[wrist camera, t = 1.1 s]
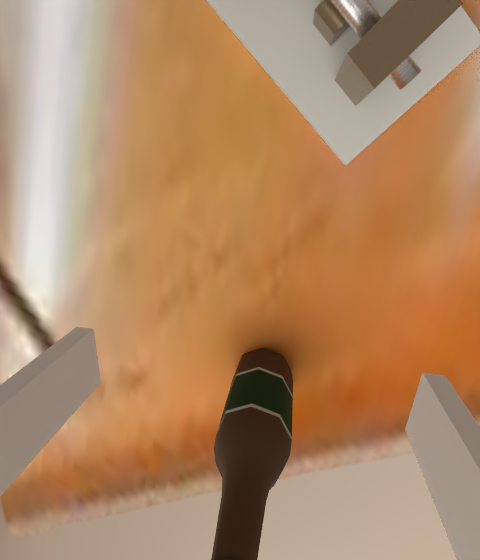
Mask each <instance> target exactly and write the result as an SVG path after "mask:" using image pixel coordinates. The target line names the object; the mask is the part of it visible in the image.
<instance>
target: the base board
mask: <svg viewBox="0 0 480 560" xmlns="http://www.w3.org/2000/svg"><path fill="white" fill-rule="evenodd" d="M206 1H207V2H208V4H209V5H210V6H211V7H212V8H213V9H214V11H215V12H216V13H217V14H218V15H219V17H220V18H221V19H222V20H223V21H224V23H225V24H226V25H227V26H228V27H229V28H230V30H231V31H232V32H233V33H234V34H235V36H236V37H237V38H238V39H239V40H240V42H241V43H242V44H243V45H244V46H245V48H246V49H247V50H248V51H249V52H250V53H251V55H252V56H253V57H254V58H255V59H256V61H257V62H258V63H259V64H260V65H261V67H262V68H263V69H264V70H265V71H266V73H267V74H268V75H269V76H270V77H271V78H272V80H273V81H274V82H275V83H276V84H277V86H278V87H279V88H280V89H281V90H282V92H283V93H284V94H285V95H286V96H287V98H288V99H289V100H290V101H291V102H292V103H293V105H294V106H295V107H296V108H297V109H298V111H299V112H300V113H301V114H302V115H303V117H304V118H305V119H306V120H307V121H308V123H309V124H310V125H311V126H312V127H313V128H314V130H315V131H316V132H317V133H318V134H319V136H320V137H321V138H322V139H323V140H324V142H325V143H326V144H327V145H328V146H329V148H330V149H331V150H332V151H333V152H334V153H335V155H336V156H337V157H338V158H339V159H340V161H341V162H342V163H343V164H344V165H347V164H348V163H349V162H350V161H351V160H352V159H354V158H355V157H356V156H357V155H358V154H359V153H360V152H361V151H362V150H364V149H365V148H366V147H367V146H368V145H369V144H370V143H371V142H372V141H374V140H375V139H376V138H377V137H378V136H379V135H380V134H381V133H383V132H384V131H385V130H386V129H387V128H388V127H389V126H390V125H391V124H393V123H394V122H395V121H396V120H397V119H398V118H399V117H400V116H401V115H403V114H404V113H405V112H406V111H407V110H408V109H409V108H410V107H412V106H413V105H414V104H415V103H416V102H417V101H418V100H419V99H420V98H422V97H423V96H424V95H425V94H426V93H427V92H428V91H429V90H430V89H432V88H433V87H434V86H435V85H436V84H437V83H438V82H439V81H441V80H442V79H443V78H444V77H445V76H446V75H447V74H448V73H449V72H451V71H452V70H453V69H454V68H455V67H456V66H457V65H458V64H459V63H461V62H462V61H463V60H464V59H465V58H466V57H467V56H468V55H470V54H471V53H472V52H473V51H474V50H475V49H476V48H477V47H478V46H480V32H479V30H478V29H477V27H476V26H475V25H474V23H473V22H472V20H471V19H470V17H469V16H468V15H467V13H466V12H465V10H464V9H463V8H462V6H460V7H459V8H458V9H457V10H456V11H455V12H454V13H453V14H452V15H451V16H450V17H449V18H448V19H447V20H446V21H444V22H443V23H442V24H441V25H440V26H439V27H438V28H437V29H436V30H435V31H434V32H433V33H432V34H431V35H430V36H429V37H428V38H427V39H426V40H425V41H424V42H423V43H422V44H421V45H420V46H419V47H417V48H416V49H415V50H414V51H413V52H412V53H411V54H410V55H411V57H412V58H413V59H414V61H415V62H416V63H417V65H418V66H419V67H420V69H421V70H422V71H421V72H420V73H419V74H418V75H417V76H416V77H415V78H414V79H413V80H411V81H410V82H409V83H408V84H407V85H406V86H405V87H404V88H402V89H401V90H399V89H398V87H397V86H396V85H395V83H394V82H393V81H392V80H391V78H390V77H389V76H387V77H386V78H385V79H384V80H383V81H382V82H381V83H380V84H379V85H378V86H377V87H376V88H375V89H374V90H373V91H372V92H371V93H369V94H368V95H367V96H366V97H365V98H364V99H363V100H362V101H361V102H360V103H358V104H357V105H356V106H355V105H354V104H353V102H352V101H351V100H350V99H349V97H348V96H347V95H346V94H345V92H344V91H343V90H342V89H341V87H340V86H339V85H338V84H337V83H336V81H335V78H336V76H337V74H338V72H339V70H340V68H341V66H342V64H343V61H344V59H345V57H346V55H347V53H348V52H349V51H350V50H351V49H352V48H353V47H354V46H355V45H356V44H357V43H358V42H359V41H360V40H361V39H360V38H359V37H358V36H357V34H356V33H355V32H354V30H353V29H352V28H351V26H349V27H348V28H347V29H346V30H345V31H344V32H343V34H342V35H341V36H340V37H339V38H338V39H337V40H336V41H335V42H334V43H333V44H332V45H331V46H330V45H329V43H328V42H327V41H326V40H325V38H324V37H323V36H322V35H321V33H320V32H319V31H318V30H317V28H316V27H315V26H314V24H313V20H314V11H315V9H316V7H317V6H318V5H319V4H320V3H321V2H322V0H206ZM369 1H370V2H371V3H372V5H373V6H374V7H375V9H376V10H377V11H378V13H379V14H380V15H381V17H383V16H384V14H385V13H386V12H387V11H388V10H389V9H390V8H391V7H392V6H393V5H394V4H395V3H396V2H397V1H398V0H369Z"/></svg>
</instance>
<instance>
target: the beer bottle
mask: <svg viewBox="0 0 480 560" xmlns="http://www.w3.org/2000/svg"><path fill="white" fill-rule="evenodd" d="M292 400H293V378H292V373H291V371H290V369H289V367H288V365H287V363H286V361H285V359H284V357H283V356H281V355H279V354H276V353H274V352H271V351H268V350H266V349H263V348H262V349H259V350H256V351H253V352H250V353H247V354H244V355H242V358H241V360H240V363H239V365H238V368H237V370H236V373H235V375H234V378H233V380H232V384H231V387H230V391H229V394H228V397H227V401H226V404H225V408H224V411H223V414H222V418H221V421H220V425H219V428H218V431H217V435H216V441H215V446H214V453H215V461H216V464H217V467H218V469H219V471H220V474H221V476H222V478H223V480H222V498H221V504H220V510H219V516H218V522H217V529H216V535H215V541H214V547H213V554H212V559H211V560H257V557H258V550H259V543H260V537H261V530H262V524H263V518H264V511H265V505H266V500H267V496H268V492H269V490H270V489H271V488H272V487H273V486H274V484H275V483H276V481H277V479H278V478H279V476H280V474H281V472H282V471H283V469H284V467H285V465H286V462H287V460H288V458H289V456H290V450H291V441H292Z"/></svg>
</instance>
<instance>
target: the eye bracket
mask: <svg viewBox="0 0 480 560" xmlns="http://www.w3.org/2000/svg"><path fill="white" fill-rule="evenodd" d="M462 4H463V3H462V2H461V0H398V1H397V2H396V3H395V4H394V5H393V6H392V7H391V8H390V9H389V10H388V11H387V12H386V13H385V14H384V16H383V17H382V18H381V19H380V20H379V21H378V22H377V23H376V24H375V25H374V26H373V27H372V28H371V29H370V30H369V31H368V32H367V33H366V34H365V35H364V36H363V38H362V39H361V40H360V41H359V42H358V43H357V44H356V45H355V46H354V47H353V48H352V49H351V50H350V51H349V52H348V53H347V55H346V57H345V59H344V61H343V64H342V66H341V68H340V70H339V72H338V74H337V76H336V78H335V81H336V83H337V84H338V85H339V86H340V87H341V89H342V90H343V91H344V92H345V94H346V95H347V96H348V97H349V99H350V100H351V101H352V102H353V104H354V105H355V106H356V105H357V104H358V103H360V102H361V101H362V100H363V99H364V98H365V97H366V96H367V95H368V94H369V93H371V92H372V91H373V90H374V89H375V88H376V87H377V86H378V85H379V84H380V83H381V82H382V81H383V80H384V79H385V78H386V77H387V76H388V75H389V74H391V73H392V72H393V71H394V70H395V69H396V68H397V67H398V66H399V65H400V64H401V63H402V62H403V61H404V60H405V59H406V58H407V57H408V56H409V55H410V54H411V53H412V52H413V51H414V50H415V49H416V48H417V47H419V46H420V45H421V44H422V43H423V42H424V41H425V40H426V39H427V38H428V37H429V36H430V35H431V34H432V33H433V32H434V31H435V30H436V29H437V28H438V27H439V26H440V25H441V24H442V23H443V22H444V21H446V20H447V19H448V18H449V17H450V16H451V15H452V14H453V13H454V12H455V11H456V10H457V9H458V8H459V7H460V6H461V5H462ZM313 24H314V26H315V27H316V28H317V30H318V31H319V32H320V33H321V35H322V36H323V37H324V38H325V40H326V41H327V42H328V43H329V45H330V46H331V45H332V44H333V43H334V42H335V41H336V40H337V39H338V38H339V37H340V36H341V35H342V34H343V32H344V31H345V30H346V29H347V28H348V27H349V26H350V25H349V24H348V23H347V21H346V20H345V19H344V17H343V16H342V15H341V14H340V12H339V11H338V10H337V8H336V7H335V6H334V4H333V3H332V2H331V1H330V0H322V2H321V3H320V4H319V5H318V6H317V7H316V9H315V11H314V20H313Z"/></svg>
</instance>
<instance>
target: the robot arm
mask: <svg viewBox="0 0 480 560" xmlns="http://www.w3.org/2000/svg"><path fill="white" fill-rule="evenodd" d="M100 382H101V380H100V372H99V365H98V358H97V351H96V344H95V337H94V329H90V328H82V327H76V328H75V329H73V330H72V331H71V332H70V333H68V334H67V335H66V336H64V337H63V338H62V339H60V340H59V341H58V342H56V343H55V344H54V345H52V346H51V347H50V348H49V349H47V350H46V351H45V352H43V353H42V354H41V355H39V356H38V357H37V358H35V359H34V360H33V361H32V362H30V363H29V364H28V365H26V366H25V367H24V368H22V369H21V370H20V371H18V372H17V373H16V374H15V375H13V376H12V377H11V378H9V379H8V380H7V381H5V382H4V383H3V384H1V385H0V496H1V495H2V494H3V493H4V492H5V490H6V489H7V488H8V487H9V486H10V485H11V484H12V482H13V481H14V480H15V479H16V478H17V477H18V476H19V475H20V473H21V472H22V471H23V470H24V469H25V468H26V467H27V465H28V464H29V463H30V462H31V461H32V460H33V459H34V457H35V456H36V455H37V454H38V453H39V452H40V451H41V449H42V448H43V447H44V446H45V445H46V444H47V443H48V442H49V440H50V439H51V438H52V437H53V436H54V435H55V434H56V432H57V431H58V430H59V429H60V428H61V427H62V426H63V424H64V423H65V422H66V421H67V420H68V419H69V418H70V416H71V415H72V414H73V413H74V412H75V411H76V410H77V409H78V407H79V406H80V405H81V404H82V403H83V402H84V401H85V399H86V398H87V397H88V396H89V395H90V394H91V393H92V391H93V390H94V389H95V388H96V387H97V386H98V385H99V383H100ZM405 430H406V433H407V435H408V438H409V440H410V443H411V445H412V448H413V450H414V453H415V455H416V458H417V460H418V463H419V465H420V468H421V471H422V473H423V476H424V478H425V480H426V483H427V485H428V488H429V491H430V493H431V496H432V498H433V501H434V503H435V506H436V508H437V511H438V513H439V516H440V518H441V521H442V523H443V526H444V528H445V531H446V533H447V536H448V538H449V540H450V543H451V546H452V548H453V551H454V553H455V556H456V558H457V560H480V426H479V425H478V423H477V422H476V420H475V419H474V417H473V416H472V414H471V413H470V411H469V410H468V409H467V407H466V406H465V404H464V403H463V401H462V400H461V398H460V397H459V395H458V394H457V392H456V391H455V389H454V388H453V387H452V385H451V384H450V382H449V381H448V379H447V378H446V376H445V375H437V374H430V373H422V376H421V379H420V383H419V386H418V389H417V393H416V396H415V399H414V402H413V406H412V409H411V412H410V415H409V419H408V422H407V425H406V429H405Z"/></svg>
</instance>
